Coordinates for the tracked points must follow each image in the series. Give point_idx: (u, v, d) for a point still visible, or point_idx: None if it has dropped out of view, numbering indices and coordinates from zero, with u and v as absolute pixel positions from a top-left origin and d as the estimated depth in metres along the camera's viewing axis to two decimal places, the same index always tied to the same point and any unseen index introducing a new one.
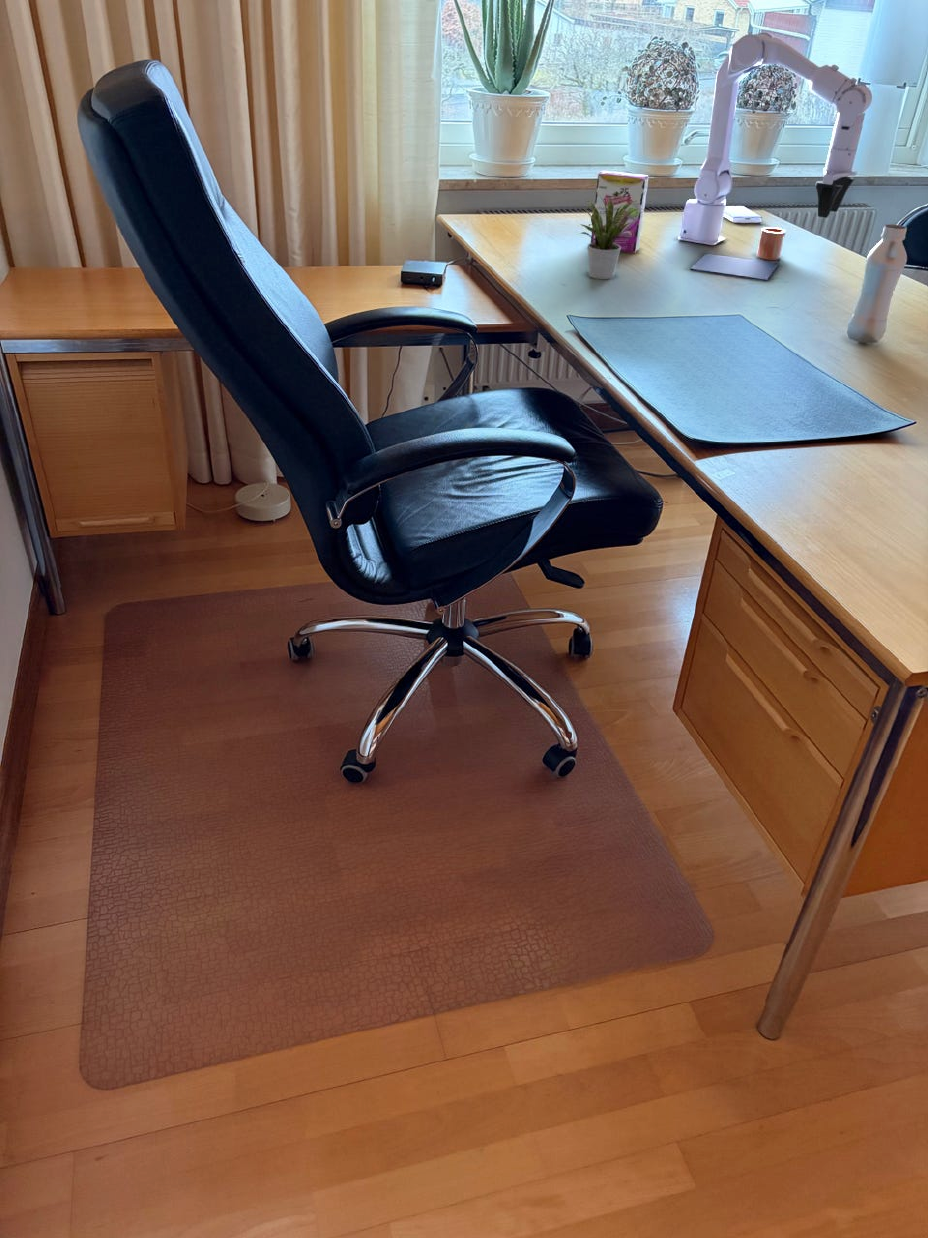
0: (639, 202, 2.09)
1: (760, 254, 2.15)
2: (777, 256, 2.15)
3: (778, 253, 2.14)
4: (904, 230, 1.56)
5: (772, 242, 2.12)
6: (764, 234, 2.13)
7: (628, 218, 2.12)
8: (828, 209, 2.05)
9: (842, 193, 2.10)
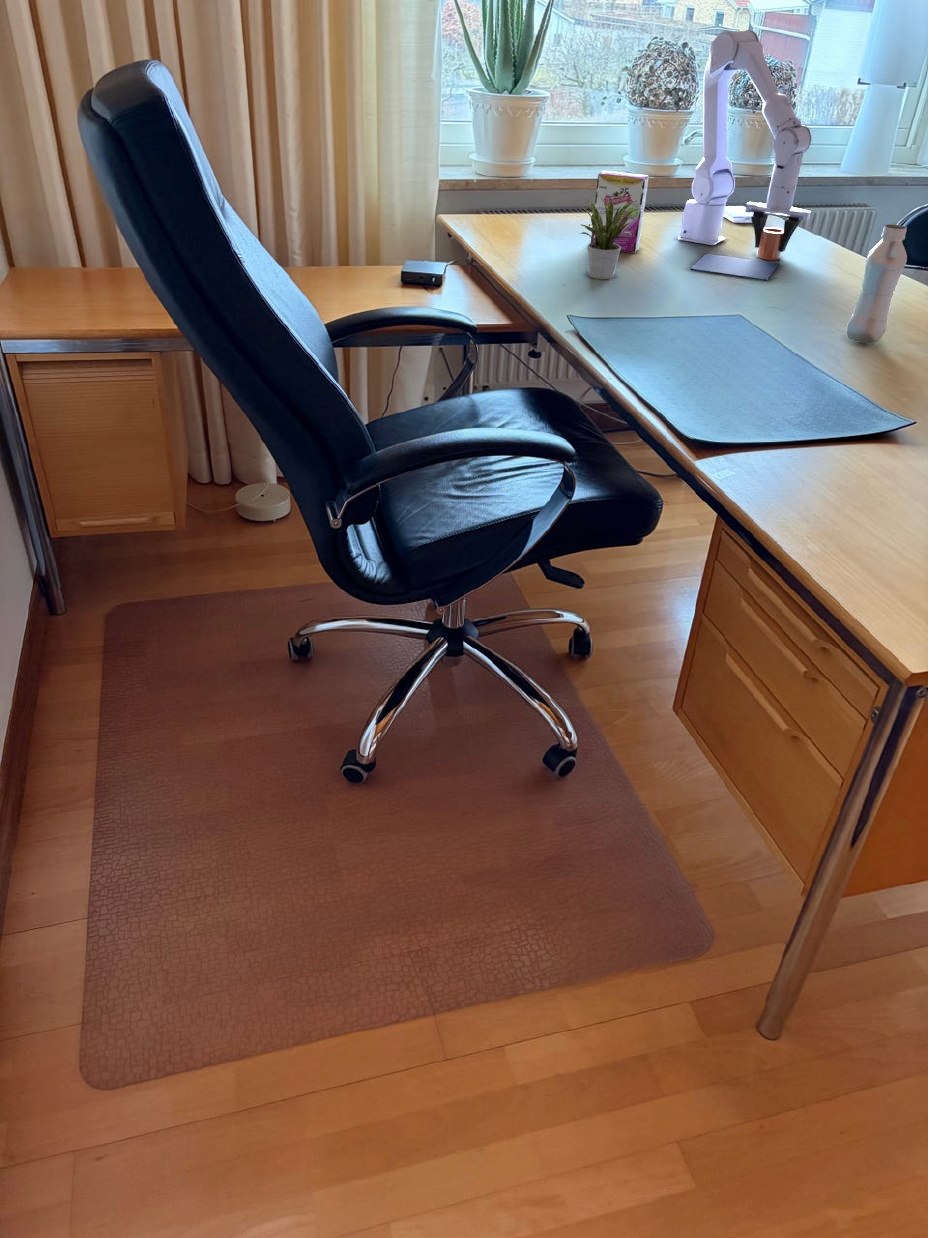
0: (639, 202, 2.09)
1: (760, 254, 2.15)
2: (777, 256, 2.15)
3: (778, 253, 2.14)
4: (904, 230, 1.56)
5: (772, 242, 2.12)
6: (764, 234, 2.13)
7: (628, 218, 2.12)
8: None
9: None
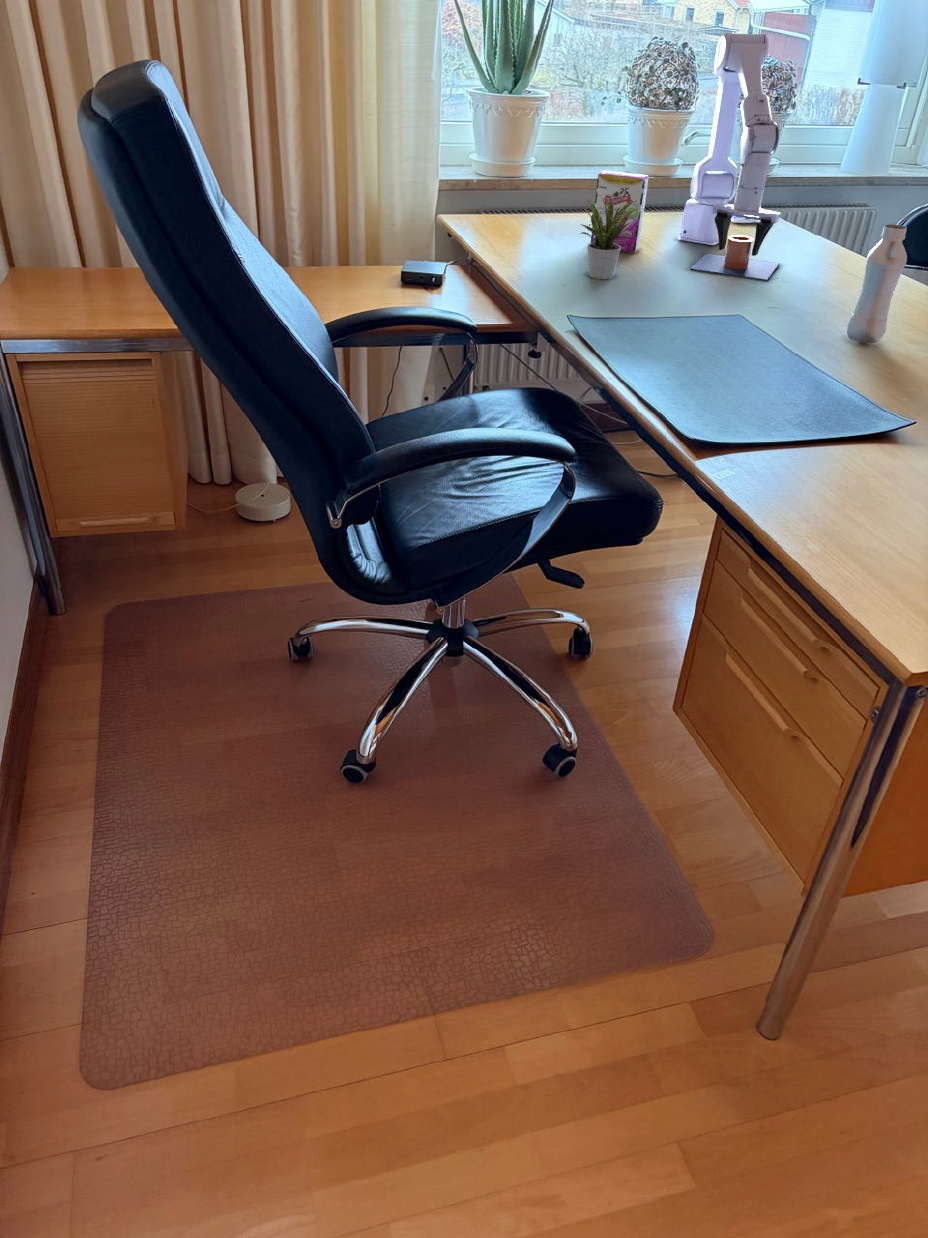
0: (639, 202, 2.09)
1: (727, 263, 2.07)
2: (745, 265, 2.06)
3: (746, 262, 2.06)
4: (904, 230, 1.56)
5: (739, 251, 2.04)
6: (731, 243, 2.04)
7: (628, 218, 2.12)
8: None
9: None
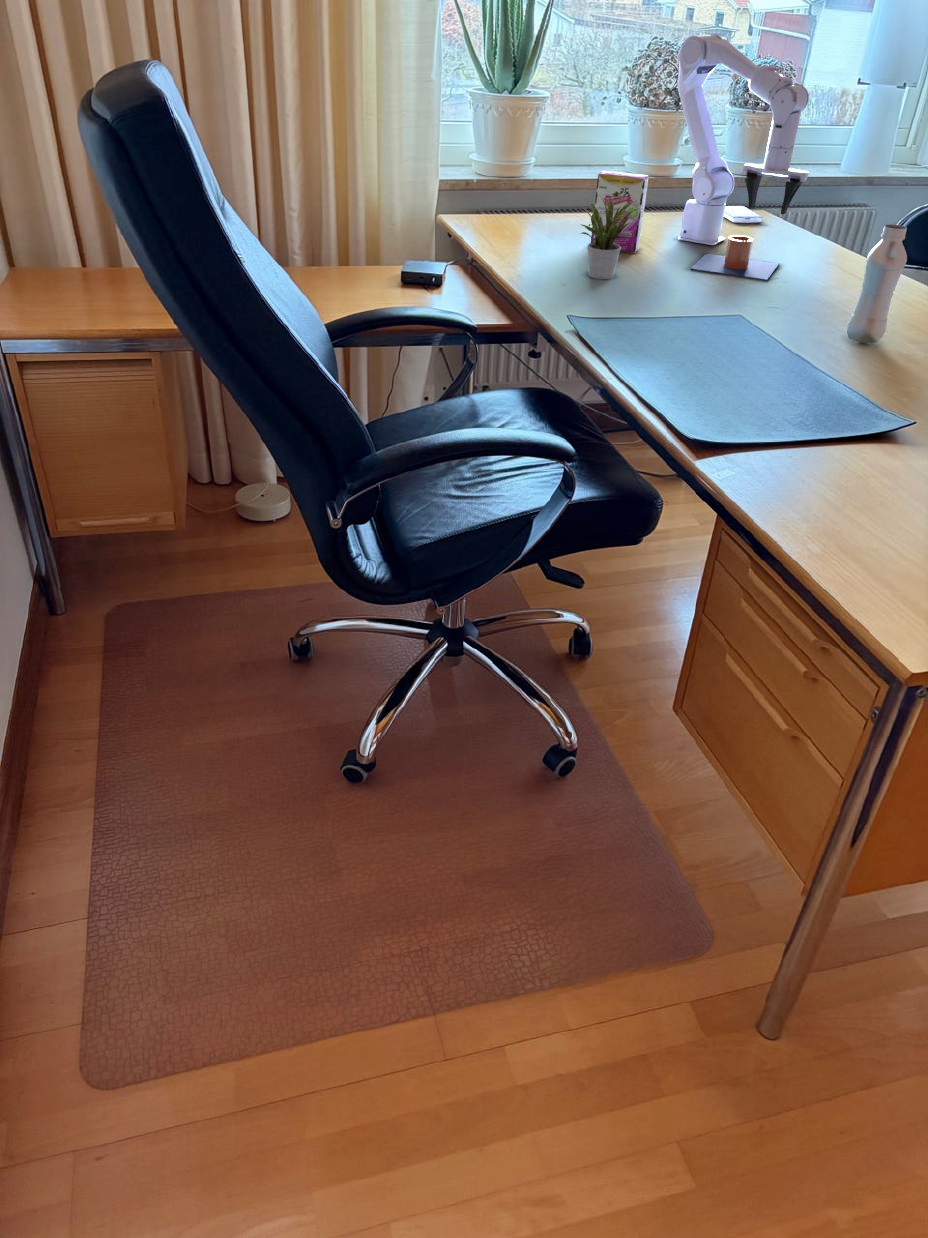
0: (639, 202, 2.09)
1: (727, 263, 2.07)
2: (745, 265, 2.06)
3: (746, 262, 2.06)
4: (904, 230, 1.56)
5: (739, 251, 2.04)
6: (731, 243, 2.04)
7: (628, 218, 2.12)
8: None
9: None
